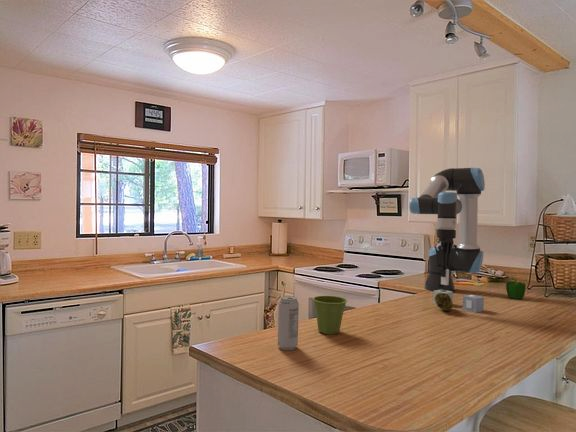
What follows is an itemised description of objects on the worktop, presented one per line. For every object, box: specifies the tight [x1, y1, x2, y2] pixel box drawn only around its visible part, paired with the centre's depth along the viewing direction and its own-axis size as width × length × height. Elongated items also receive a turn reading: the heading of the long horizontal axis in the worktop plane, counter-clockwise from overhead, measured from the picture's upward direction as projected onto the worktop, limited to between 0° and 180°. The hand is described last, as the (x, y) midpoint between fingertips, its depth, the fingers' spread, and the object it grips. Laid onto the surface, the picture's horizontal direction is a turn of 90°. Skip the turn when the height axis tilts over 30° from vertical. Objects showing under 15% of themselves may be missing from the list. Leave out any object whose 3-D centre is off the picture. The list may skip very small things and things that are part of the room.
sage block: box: [432, 290, 454, 305], centre depth 196 cm, size 6×6×6 cm
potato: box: [435, 293, 454, 312], centre depth 184 cm, size 8×13×8 cm, turn 138°
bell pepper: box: [505, 277, 527, 300], centre depth 214 cm, size 8×8×10 cm
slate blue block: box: [462, 294, 485, 314], centre depth 186 cm, size 6×6×6 cm
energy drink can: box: [277, 295, 300, 351], centre depth 130 cm, size 6×6×15 cm
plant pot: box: [312, 295, 349, 336], centre depth 148 cm, size 12×12×11 cm
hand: (444, 284), depth 183 cm, fingers closed
